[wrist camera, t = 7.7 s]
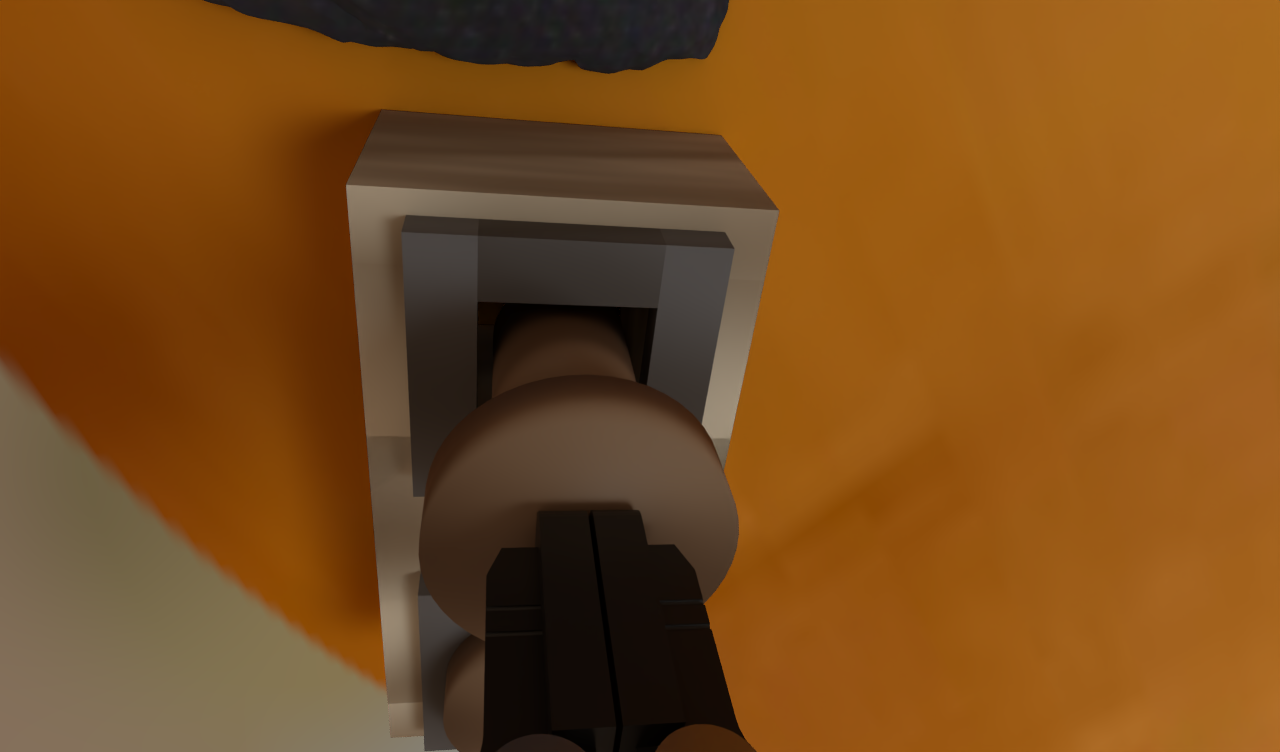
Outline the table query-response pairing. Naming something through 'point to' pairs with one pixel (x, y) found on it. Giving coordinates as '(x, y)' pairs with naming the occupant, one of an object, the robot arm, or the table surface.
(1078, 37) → the table surface
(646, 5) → the black folded cloth
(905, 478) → the table surface
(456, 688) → the brown mushroom knob
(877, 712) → the table surface
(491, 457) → the brown rounded piece
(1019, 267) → the table surface
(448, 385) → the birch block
